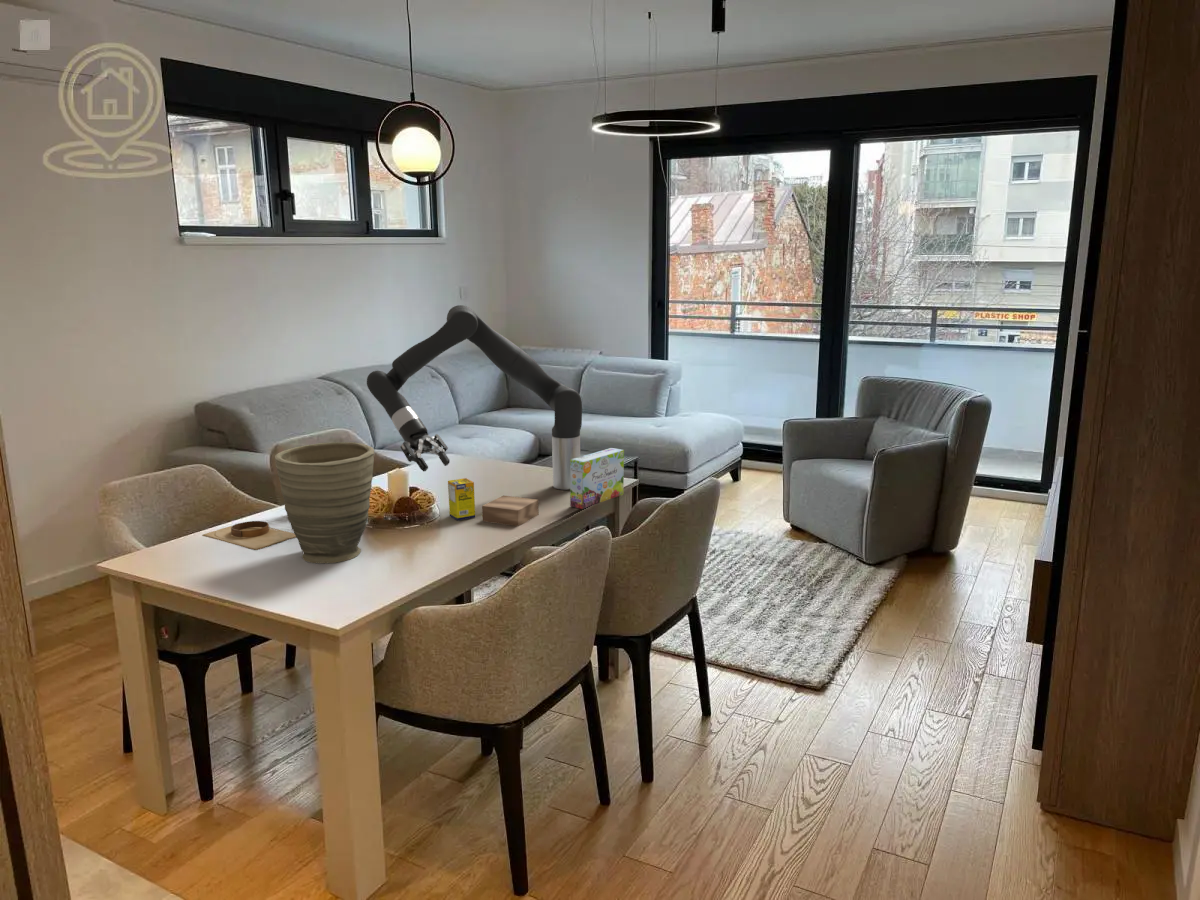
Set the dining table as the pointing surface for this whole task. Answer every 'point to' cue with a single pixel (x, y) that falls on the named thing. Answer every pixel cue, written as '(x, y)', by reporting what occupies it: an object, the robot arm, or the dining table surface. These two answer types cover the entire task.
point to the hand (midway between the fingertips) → (437, 466)
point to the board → (251, 535)
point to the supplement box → (461, 499)
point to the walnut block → (510, 510)
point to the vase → (327, 497)
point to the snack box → (596, 477)
